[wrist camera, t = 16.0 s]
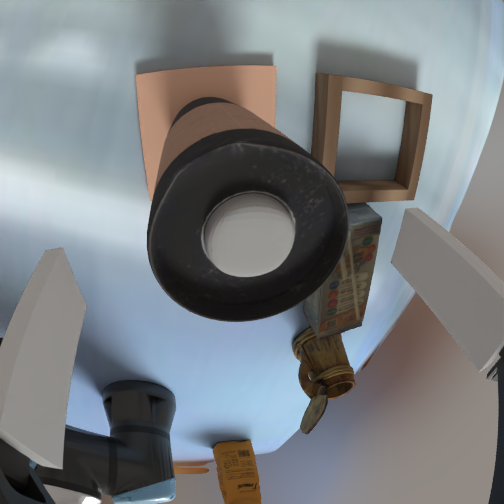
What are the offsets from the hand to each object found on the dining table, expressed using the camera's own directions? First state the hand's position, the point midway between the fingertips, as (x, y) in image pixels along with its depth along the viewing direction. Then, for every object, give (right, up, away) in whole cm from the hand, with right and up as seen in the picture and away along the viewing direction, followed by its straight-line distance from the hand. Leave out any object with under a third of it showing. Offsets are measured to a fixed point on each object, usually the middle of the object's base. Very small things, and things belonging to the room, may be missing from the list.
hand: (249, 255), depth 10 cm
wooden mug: (+9, -15, +39) cm, 43 cm away
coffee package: (-6, -59, +67) cm, 89 cm away
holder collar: (+13, +13, +20) cm, 28 cm away
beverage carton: (+11, -1, +30) cm, 32 cm away
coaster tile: (-4, +12, +17) cm, 21 cm away
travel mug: (-4, +12, +16) cm, 20 cm away
